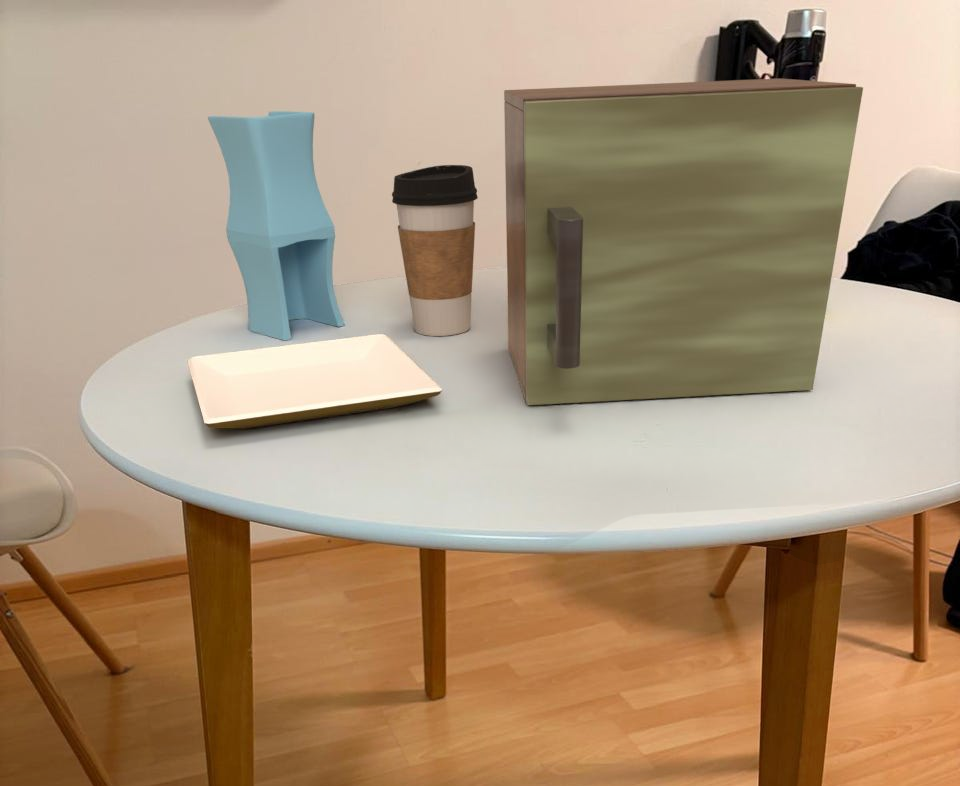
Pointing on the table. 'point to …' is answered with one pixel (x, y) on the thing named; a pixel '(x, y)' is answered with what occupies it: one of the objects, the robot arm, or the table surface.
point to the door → (681, 241)
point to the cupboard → (516, 173)
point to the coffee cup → (437, 245)
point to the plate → (306, 381)
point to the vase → (278, 220)
